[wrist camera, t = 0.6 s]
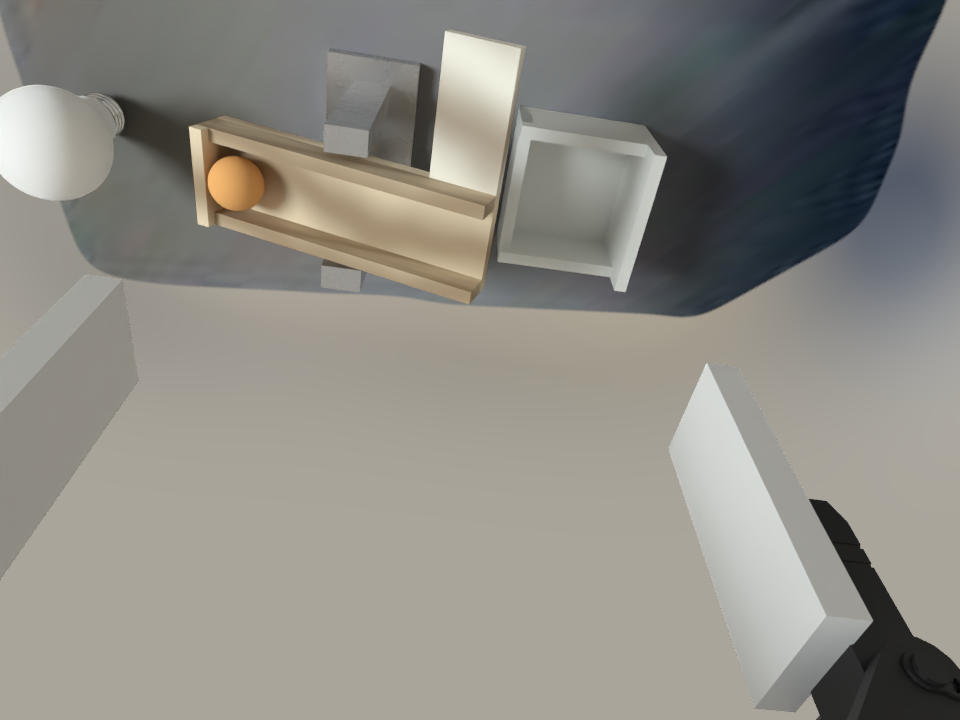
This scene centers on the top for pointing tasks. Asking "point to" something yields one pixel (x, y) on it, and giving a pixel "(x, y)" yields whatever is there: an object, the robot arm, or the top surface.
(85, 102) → the light bulb
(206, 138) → the lever
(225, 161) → the ball
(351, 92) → the stand
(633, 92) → the top surface
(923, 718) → the robot arm
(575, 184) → the tray
